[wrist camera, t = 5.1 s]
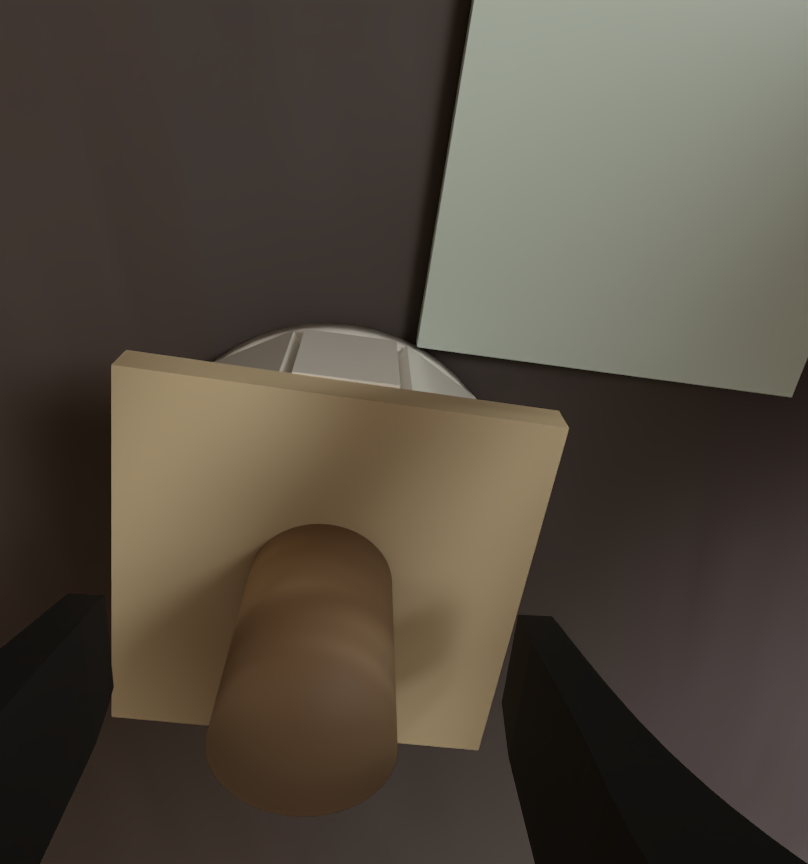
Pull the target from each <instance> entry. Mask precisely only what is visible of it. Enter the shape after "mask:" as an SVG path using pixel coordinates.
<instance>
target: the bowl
mask: <svg viewBox="0 0 808 864" xmlns="http://www.w3.org/2000/svg"><path fill="white" fill-rule="evenodd" d="M214 362H216V363H223V364H230V365H237V366H244V367H251V368H258V369H265V370H272V371H279V372H287V373H294V374H301V375H308V376H315V377H322V378H329V379H336V380H343V381H351V382H358V383H365V384H372V385H379V386H386V387H393V388H400V389H407V390H414V391H422V392H429V393H436V394H443V395H450V396H457V397H464V398H471V399H476V397H475V396H473V395H472V393H471V392H470V390H469V389H468V388H467V387H466V386H465V385H464V384H463V382H462V381H461V380H460V379H459V378H458V377H457V376H456V374H454V373H453V372H452V371H451V370H450V369H449V368H448V367H446V366H445V365H444V364H443V363H442V362H441V361H440V360H438V359H437V358H435V357H434V356H432V355H431V354H429V353H428V352H426V351H425V350H423V349H422V348H420V347H417V346H416V345H414V344H412V343H410V342H408V341H406V340H404V339H402V338H400V337H397V336H394V335H391V334H388V333H385V332H382V331H379V330H376V329H372V328H367V327H362V326H357V325H351V324H337V323H315V324H302V325H296V326H291V327H285V328H280V329H277V330H274V331H271V332H268V333H265V334H261V335H258V336H256V337H254V338H252V339H250V340H248V341H245V342H243V343H241V344H239V345H237V346H235V347H234V348H232V349H231V350H229V351H228V352H226V353H225V354H223V355H222V356H220V357H219V358H217V359H216V360H215V361H214Z"/></svg>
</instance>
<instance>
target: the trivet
mask: <svg viewBox="0 0 808 864" xmlns="http://www.w3.org/2000/svg"><path fill="white" fill-rule="evenodd" d="M416 345H417V347H420V348H427V349H434V350H442V351H449V352H457V353H464V354H472V355H479V356H487V357H494V358H501V359H509V360H516V361H524V362H531V363H539V364H546V365H554V366H561V367H569V368H576V369H583V370H591V371H598V372H606V373H613V374H621V375H628V376H636V377H643V378H651V379H658V380H665V381H673V382H680V383H688V384H695V385H703V386H710V387H718V388H725V389H733V390H740V391H747V392H755V393H762V394H770V395H777V396H785V397H792V396H793V393H794V391H795V388H796V386H797V383H798V381H799V378H800V376H801V373H802V371H803V368H804V365H805V363H806V360H807V358H808V0H472V3H471V9H470V16H469V22H468V28H467V34H466V40H465V46H464V52H463V58H462V64H461V70H460V76H459V83H458V89H457V95H456V101H455V107H454V113H453V119H452V125H451V131H450V137H449V143H448V150H447V156H446V162H445V168H444V174H443V180H442V186H441V192H440V198H439V204H438V210H437V216H436V223H435V229H434V235H433V241H432V247H431V253H430V259H429V265H428V271H427V277H426V283H425V290H424V296H423V302H422V308H421V314H420V320H419V326H418V332H417V338H416Z"/></svg>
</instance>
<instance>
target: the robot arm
mask: <svg viewBox="0 0 808 864" xmlns="http://www.w3.org/2000/svg"><path fill="white" fill-rule="evenodd" d="M113 688H114V683H113V673H112V664H111V654H110V644H109V634H108V625H107V615H106V605H105V596H103V595H82V594H67V595H66V596H65V597H64V598H62V599H61V600H60V601H58V602H57V603H56V604H55V605H54V606H52V607H51V608H50V609H49V610H47V611H46V612H45V613H44V614H42V615H41V616H40V617H39V618H37V619H36V620H35V621H34V622H33V623H31V624H30V625H29V626H28V627H26V628H25V629H24V630H23V631H22V632H20V633H19V634H18V635H17V636H15V637H14V638H13V639H12V640H11V641H9V642H8V643H7V644H6V645H4V646H3V647H2V648H1V649H0V864H40V862H41V860H42V858H43V856H44V854H45V851H46V849H47V847H48V845H49V843H50V841H51V839H52V836H53V834H54V832H55V830H56V828H57V826H58V824H59V822H60V819H61V817H62V815H63V813H64V811H65V809H66V807H67V805H68V802H69V800H70V798H71V796H72V794H73V792H74V790H75V788H76V785H77V783H78V781H79V779H80V777H81V775H82V772H83V770H84V768H85V766H86V764H87V762H88V759H89V757H90V755H91V753H92V751H93V748H94V746H95V744H96V741H97V738H98V735H99V732H100V729H101V726H102V723H103V720H104V717H105V714H106V711H107V708H108V704H109V701H110V698H111V695H112V692H113ZM502 707H503V715H504V724H505V732H506V740H507V747H508V755H509V760H510V764H511V769H512V773H513V777H514V781H515V785H516V789H517V793H518V797H519V801H520V805H521V809H522V813H523V817H524V821H525V825H526V829H527V833H528V837H529V841H530V845H531V849H532V853H533V857H534V861H535V864H807V863H806V862H804V861H803V860H801V859H800V858H798V857H797V856H796V855H794V854H793V853H792V852H790V851H789V850H787V849H786V848H785V847H783V846H782V845H780V844H779V843H778V842H776V841H775V840H774V839H772V838H771V837H769V836H768V835H767V834H766V833H764V832H763V831H762V830H760V829H759V828H758V827H757V826H755V825H754V824H753V823H751V822H750V821H749V820H748V819H746V818H745V817H744V816H742V815H741V814H740V813H739V812H737V811H736V810H735V809H734V808H732V807H731V806H730V805H729V804H727V803H726V802H725V801H724V800H723V799H721V798H720V797H719V796H718V795H717V794H715V793H714V792H713V791H712V790H711V789H710V788H709V787H707V786H706V785H705V784H704V783H703V782H702V781H701V780H700V779H699V778H697V777H696V776H695V775H694V774H693V773H692V772H691V771H690V770H688V769H687V768H686V767H685V766H684V765H683V764H682V763H681V762H680V761H679V760H678V759H676V758H675V757H674V756H673V755H672V754H671V753H670V752H669V751H668V750H667V749H666V748H665V747H664V746H663V745H662V744H661V743H660V742H659V741H658V740H657V739H656V738H655V737H654V736H653V735H652V734H651V733H650V732H649V731H648V730H647V728H646V727H645V726H644V725H643V724H642V723H641V722H640V721H639V720H638V719H637V718H636V717H635V716H634V715H633V714H632V712H631V711H630V710H629V709H628V708H627V707H626V706H625V705H624V703H623V702H622V701H621V700H620V699H619V698H618V697H617V695H616V694H615V693H614V692H613V691H612V690H611V688H610V687H609V686H608V685H607V684H606V683H605V681H604V680H603V679H602V678H601V677H600V675H599V674H598V673H597V672H596V671H595V669H594V668H593V667H592V666H591V664H590V663H589V662H588V661H587V660H586V658H585V657H584V656H583V655H582V653H581V652H580V651H579V650H578V648H577V647H576V646H575V645H574V643H573V642H572V641H571V639H570V638H569V637H568V636H567V634H566V633H565V632H564V631H563V629H562V628H561V627H560V626H559V624H558V623H557V622H556V621H555V620H554V618H553V617H552V616H530V615H518V619H517V624H516V630H515V635H514V640H513V646H512V651H511V656H510V662H509V667H508V672H507V678H506V683H505V688H504V694H503V699H502Z"/></svg>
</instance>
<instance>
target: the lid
mask: <svg viewBox="0 0 808 864" xmlns="http://www.w3.org/2000/svg"><path fill="white" fill-rule="evenodd" d="M568 430H569V427H568V425H567V424H566V422H565V420H564V419H563V417H562V415H561V414H560V412H559V411H557V410H550V409H542V408H535V407H528V406H521V405H514V404H507V403H500V402H493V401H486V400H478V399H471V398H464V397H457V396H450V395H443V394H436V393H429V392H422V391H414V390H407V389H400V388H393V387H386V386H379V385H372V384H365V383H358V382H351V381H343V380H336V379H329V378H322V377H315V376H308V375H301V374H294V373H287V372H279V371H272V370H265V369H258V368H251V367H244V366H237V365H230V364H223V363H216V362H208V361H201V360H194V359H187V358H180V357H173V356H166V355H159V354H152V353H144V352H137V351H130V350H126V351H125V352H124V353H123V354H122V355H121V356H120V357H119V358H118V359H117V360H116V361H115V362H114V363H113V364H112V365H111V580H112V673H113V683H114V688H113V692H112V717H120V718H131V719H141V720H152V721H163V722H174V723H185V724H196V725H207V726H208V730H207V734H206V741H205V752H206V757H207V761H208V764H209V766H210V769H211V771H212V772H213V774H214V776H215V777H216V779H217V780H218V781H219V782H220V784H221V785H222V786H223V787H224V788H225V789H226V790H227V791H229V792H230V793H231V794H232V795H234V796H235V797H236V798H238V799H240V800H241V801H243V802H245V803H247V804H248V805H251V806H253V807H255V808H258V809H261V810H264V811H267V812H270V813H275V814H279V815H286V816H297V817H309V816H321V815H327V814H332V813H336V812H340V811H343V810H345V809H348V808H351V807H353V806H355V805H357V804H359V803H361V802H363V801H364V800H366V799H368V798H369V797H370V796H372V795H373V794H374V793H375V792H377V791H378V790H379V789H380V788H381V787H382V786H383V785H384V783H385V782H386V781H387V779H388V778H389V776H390V775H391V773H392V771H393V769H394V766H395V763H396V760H397V752H398V743H403V744H414V745H425V746H436V747H447V748H458V749H469V750H479V746H480V743H481V739H482V735H483V732H484V728H485V725H486V721H487V718H488V714H489V711H490V707H491V703H492V700H493V696H494V693H495V689H496V686H497V682H498V679H499V675H500V672H501V668H502V664H503V661H504V657H505V654H506V650H507V647H508V643H509V640H510V636H511V633H512V629H513V625H514V622H515V618H516V615H517V611H518V608H519V604H520V601H521V597H522V594H523V590H524V586H525V583H526V579H527V576H528V572H529V569H530V565H531V562H532V558H533V555H534V551H535V547H536V544H537V540H538V537H539V533H540V530H541V526H542V523H543V519H544V516H545V512H546V508H547V505H548V501H549V498H550V494H551V491H552V487H553V484H554V480H555V477H556V473H557V469H558V466H559V462H560V459H561V455H562V452H563V448H564V445H565V441H566V438H567V434H568Z"/></svg>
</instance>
